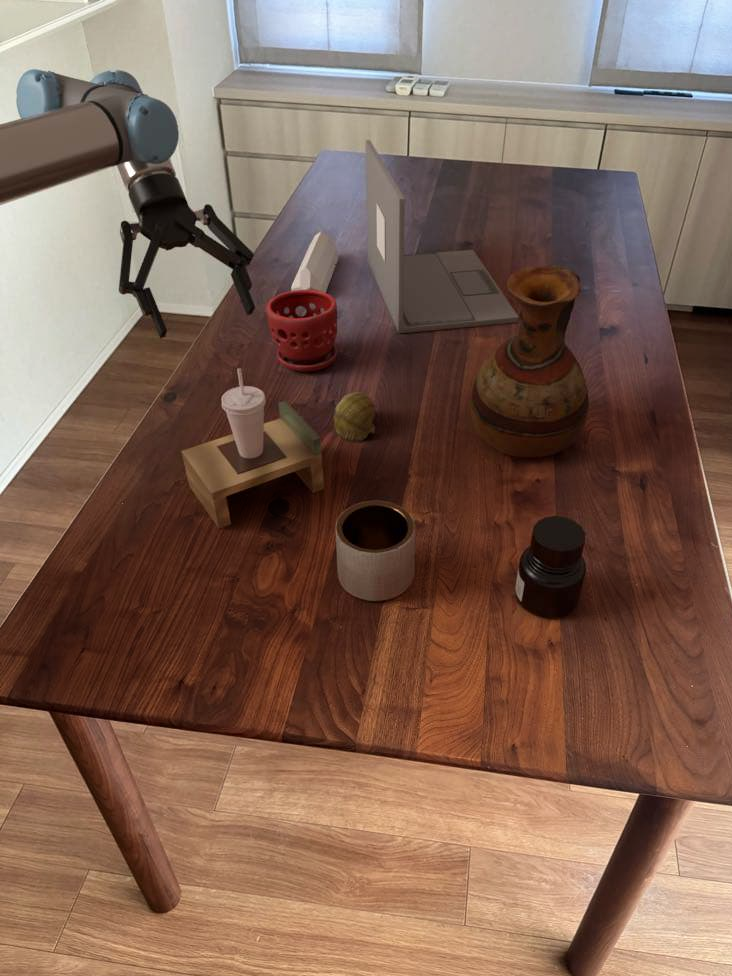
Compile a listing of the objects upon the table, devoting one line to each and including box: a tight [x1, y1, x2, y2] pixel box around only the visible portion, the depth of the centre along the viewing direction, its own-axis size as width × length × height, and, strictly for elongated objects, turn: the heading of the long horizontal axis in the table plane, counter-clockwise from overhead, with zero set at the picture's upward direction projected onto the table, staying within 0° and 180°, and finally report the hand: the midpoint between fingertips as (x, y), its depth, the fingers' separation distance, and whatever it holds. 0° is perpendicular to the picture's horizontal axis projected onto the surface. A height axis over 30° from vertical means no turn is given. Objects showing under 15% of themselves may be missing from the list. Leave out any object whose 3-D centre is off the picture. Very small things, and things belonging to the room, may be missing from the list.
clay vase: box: [470, 263, 590, 458], centre depth 128 cm, size 20×20×30 cm
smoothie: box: [220, 367, 267, 458], centre depth 117 cm, size 6×6×14 cm
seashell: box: [333, 391, 376, 443], centre depth 138 cm, size 10×7×8 cm
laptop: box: [365, 139, 520, 335], centre depth 169 cm, size 35×26×27 cm
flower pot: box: [265, 290, 338, 373], centre depth 152 cm, size 13×13×12 cm
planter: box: [334, 500, 416, 602], centre depth 109 cm, size 11×11×10 cm
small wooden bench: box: [181, 400, 325, 530], centre depth 123 cm, size 18×12×10 cm, turn 123°
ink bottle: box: [514, 515, 587, 620], centre depth 106 cm, size 10×9×12 cm
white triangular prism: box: [290, 230, 339, 293], centre depth 180 cm, size 7×7×24 cm
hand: (208, 322), depth 116 cm, fingers open, 13 cm apart
